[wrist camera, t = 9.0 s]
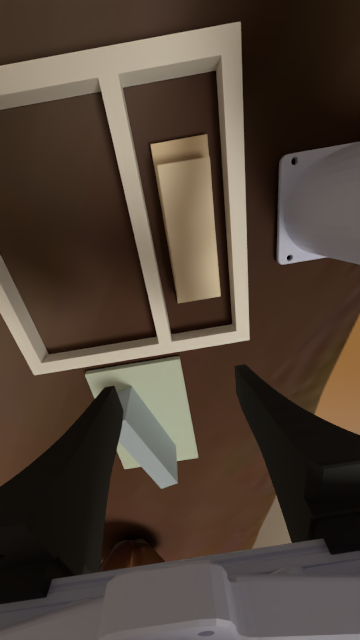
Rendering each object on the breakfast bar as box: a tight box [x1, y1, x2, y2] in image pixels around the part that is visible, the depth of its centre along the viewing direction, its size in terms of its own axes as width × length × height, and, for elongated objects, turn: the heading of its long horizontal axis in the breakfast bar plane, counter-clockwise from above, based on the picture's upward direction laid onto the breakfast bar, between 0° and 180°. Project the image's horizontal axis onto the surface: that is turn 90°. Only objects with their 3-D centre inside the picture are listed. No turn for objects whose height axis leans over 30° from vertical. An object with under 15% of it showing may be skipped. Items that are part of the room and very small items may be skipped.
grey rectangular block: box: [117, 386, 178, 489], centre depth 24 cm, size 2×11×4 cm, turn 25°
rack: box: [0, 21, 249, 375], centre depth 18 cm, size 21×21×2 cm
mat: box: [85, 356, 198, 469], centre depth 26 cm, size 10×16×1 cm, turn 9°
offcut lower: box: [150, 134, 221, 303], centre depth 18 cm, size 4×12×1 cm, turn 9°
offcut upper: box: [157, 157, 220, 303], centre depth 18 cm, size 4×10×1 cm, turn 8°
